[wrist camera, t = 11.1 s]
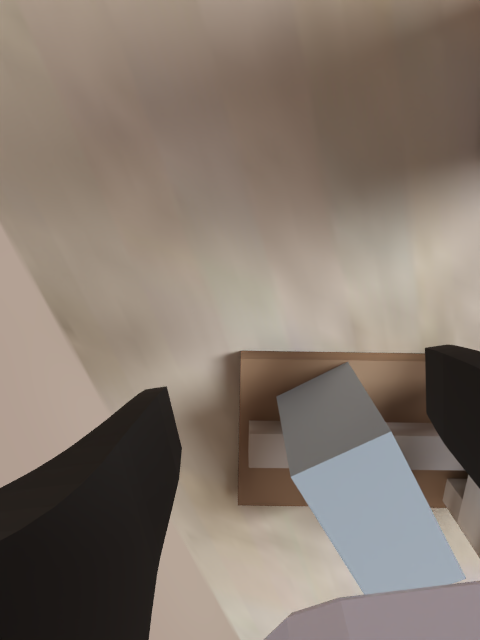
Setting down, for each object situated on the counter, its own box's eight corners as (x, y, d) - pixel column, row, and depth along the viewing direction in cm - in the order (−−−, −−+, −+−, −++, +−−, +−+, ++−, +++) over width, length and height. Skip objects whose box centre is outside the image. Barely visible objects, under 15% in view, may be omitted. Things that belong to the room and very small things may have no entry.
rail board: (566, 355, 21) (718, 434, 14) (525, 496, 24) (636, 615, 17) (240, 350, 21) (241, 427, 14) (237, 492, 24) (237, 611, 17)
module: (347, 361, 20) (391, 431, 14) (411, 485, 22) (470, 587, 17) (276, 396, 21) (290, 476, 15) (345, 513, 23) (381, 621, 17)
